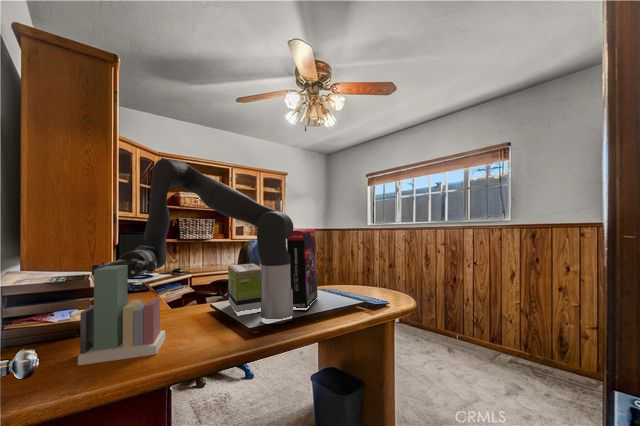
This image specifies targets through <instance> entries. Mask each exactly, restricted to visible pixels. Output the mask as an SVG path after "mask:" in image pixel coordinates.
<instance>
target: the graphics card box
mask: <svg viewBox="0 0 640 426" xmlns="http://www.w3.org/2000/svg"><path fill="white" fill-rule="evenodd" d="M286 248H287V251H288V253H289V254H290V258H291V288H292V290H293V307H296V308H307V307H308V306H310V304H311V303H312V302H313V301H314V300H315V299H316V298H317V297H319V296H318V275H317V273H318V272H317V249H316V229H312V228H311V229H309V228H307V229H306V228H305V229H304V228H303V229H301V228H300V229H293V232H292V234H291V235H290V236H289V237H288V238H287V239H286ZM317 299H318V298H317ZM317 299H316V300H317ZM316 300H315V301H316Z"/></svg>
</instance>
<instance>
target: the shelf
mask: <svg viewBox="0 0 640 426" xmlns="http://www.w3.org/2000/svg"><path fill="white" fill-rule="evenodd" d="M142 301H143V299H133V300H131V301H129V303H128V304H127V305H126V306H125V307H124V308H123V342H122V343H121V344H120V345H119V346H118V348H113V349H105V350H97V351H94V346H93V347H92V348H91V349H90V350H89V351H88V352H87V353H85V354H80V353H79V355H77V366H82V365H91V364H98V363H105V362H113V361H118V360H126V359H131V358H133V359H134V358H140V357H148V356H153V355H154V356H155V355H157V354H158V352H159V350H160V348H161V347H162V345H163V343H164V341H165V340H166V330H161V297H155V298H154V297H153V298H150V299H149V300H148V301H147V302H142Z"/></svg>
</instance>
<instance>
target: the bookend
mask: <svg viewBox="0 0 640 426" xmlns="http://www.w3.org/2000/svg"><path fill="white" fill-rule="evenodd" d="M79 314H80V319H79V320H80V323H79V324H80V328H79V329H80V331H79V333H80V335H79V336H80V337H79V339H80V340H79V341H80V343H79V345H80V347H79V350H80V353H79V355H80V354H85V353H87V352H88V351H89V350H90V349H91V348H92V347H93V346H94V304H92V305H91V306H89V307H87V308H85V309H83V310H82V311H81V312H80V313H79Z"/></svg>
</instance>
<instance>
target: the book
mask: <svg viewBox="0 0 640 426" xmlns="http://www.w3.org/2000/svg"><path fill="white" fill-rule="evenodd" d="M128 279H129V278H128V265H115V266H105V267H102V268H99V269H96V270H94V275H93V305H94V351H97V350H105V349H113V348H118V346H119V345H120V344H121V343H122V342H123V308H124V307H125V306H126V305H127V304H129V303H128V298H129V297H128V293H129V292H128V290H129V289H128V287H129V286H128V285H129V283H128V281H129V280H128Z"/></svg>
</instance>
